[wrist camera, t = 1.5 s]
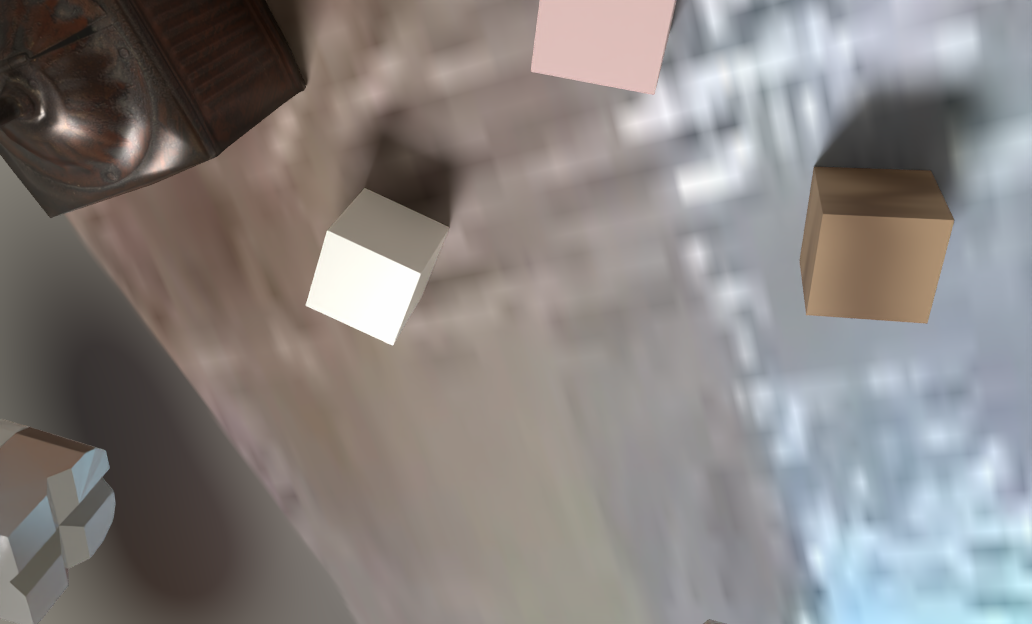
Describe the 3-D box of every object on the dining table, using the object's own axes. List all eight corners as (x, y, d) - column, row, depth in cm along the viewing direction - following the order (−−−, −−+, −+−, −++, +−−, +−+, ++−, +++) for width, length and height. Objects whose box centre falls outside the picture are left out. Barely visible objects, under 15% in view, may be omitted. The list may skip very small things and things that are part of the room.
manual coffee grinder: (192, -144, 37) (-169, -79, 22) (313, 89, 41) (83, 267, 27) (-33, -18, 42) (-436, 98, 28) (96, 172, 47) (-189, 356, 33)
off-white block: (450, 226, 44) (421, 273, 40) (422, 295, 47) (392, 345, 43) (365, 187, 44) (327, 230, 40) (342, 258, 47) (305, 305, 43)
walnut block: (930, 169, 37) (954, 220, 33) (908, 266, 40) (927, 323, 36) (813, 165, 38) (822, 213, 34) (799, 260, 41) (806, 314, 37)
